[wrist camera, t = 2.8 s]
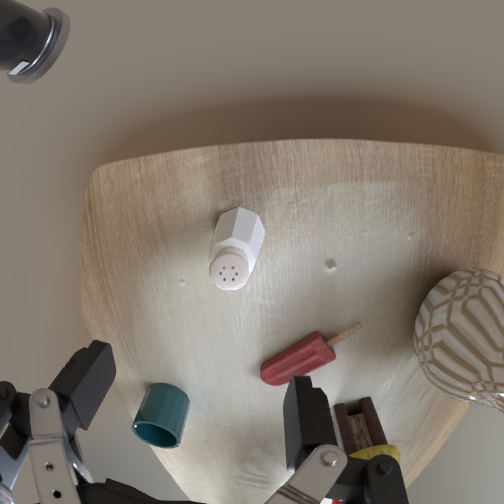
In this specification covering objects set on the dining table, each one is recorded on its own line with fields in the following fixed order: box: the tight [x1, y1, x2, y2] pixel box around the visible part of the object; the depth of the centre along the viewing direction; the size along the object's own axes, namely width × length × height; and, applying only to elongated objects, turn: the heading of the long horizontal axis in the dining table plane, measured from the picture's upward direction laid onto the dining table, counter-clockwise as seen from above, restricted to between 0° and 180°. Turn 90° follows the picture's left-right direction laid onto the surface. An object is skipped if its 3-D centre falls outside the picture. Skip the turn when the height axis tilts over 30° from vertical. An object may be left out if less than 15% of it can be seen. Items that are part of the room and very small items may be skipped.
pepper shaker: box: [209, 207, 265, 290], centre depth 25 cm, size 5×5×11 cm
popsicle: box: [260, 323, 362, 386], centre depth 34 cm, size 4×2×15 cm
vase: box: [414, 268, 504, 414], centre depth 23 cm, size 16×16×20 cm
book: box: [334, 397, 400, 463], centre depth 29 cm, size 22×8×25 cm, turn 11°
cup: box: [132, 383, 190, 448], centre depth 35 cm, size 7×7×8 cm
